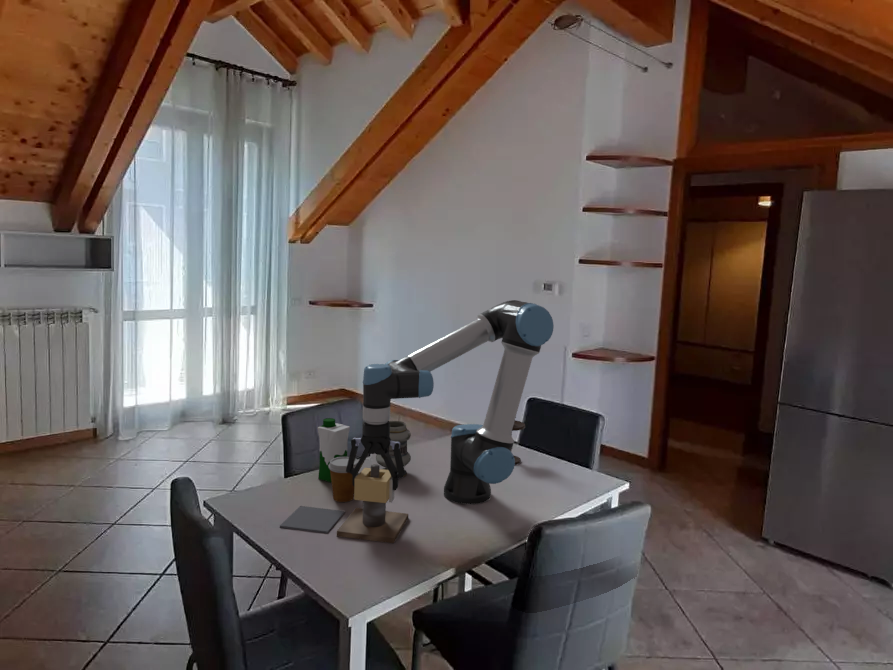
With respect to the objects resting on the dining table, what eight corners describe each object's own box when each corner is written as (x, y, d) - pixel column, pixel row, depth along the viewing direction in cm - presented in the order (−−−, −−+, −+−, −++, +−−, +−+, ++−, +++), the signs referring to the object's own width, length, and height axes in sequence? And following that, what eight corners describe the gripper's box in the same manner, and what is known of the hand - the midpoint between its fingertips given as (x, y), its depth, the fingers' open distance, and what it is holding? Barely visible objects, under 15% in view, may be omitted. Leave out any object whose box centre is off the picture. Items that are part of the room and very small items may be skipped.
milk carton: (332, 471, 220) (332, 415, 218) (352, 477, 216) (353, 420, 213) (314, 479, 213) (314, 421, 210) (334, 485, 208) (335, 426, 206)
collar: (394, 490, 181) (395, 470, 180) (386, 503, 173) (386, 482, 172) (364, 487, 183) (364, 467, 182) (354, 499, 174) (354, 478, 173)
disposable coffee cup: (352, 506, 193) (353, 468, 191) (323, 502, 195) (323, 464, 193) (363, 494, 202) (363, 458, 200) (334, 490, 204) (335, 454, 202)
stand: (408, 518, 185) (410, 459, 183) (393, 543, 170) (395, 478, 167) (355, 512, 188) (356, 453, 186) (336, 536, 173) (337, 472, 170)
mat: (344, 512, 188) (345, 511, 188) (327, 533, 174) (327, 531, 174) (300, 507, 190) (300, 505, 190) (279, 527, 177) (279, 525, 177)
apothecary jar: (368, 472, 221) (369, 422, 219) (395, 465, 229) (397, 416, 227) (389, 482, 213) (390, 430, 210) (417, 474, 221) (418, 424, 218)
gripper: (418, 420, 176) (415, 497, 180) (343, 413, 180) (342, 489, 183) (411, 427, 169) (409, 508, 172) (333, 421, 173) (333, 499, 176)
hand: (374, 498), depth 178 cm, fingers closed on collar, 9 cm apart
